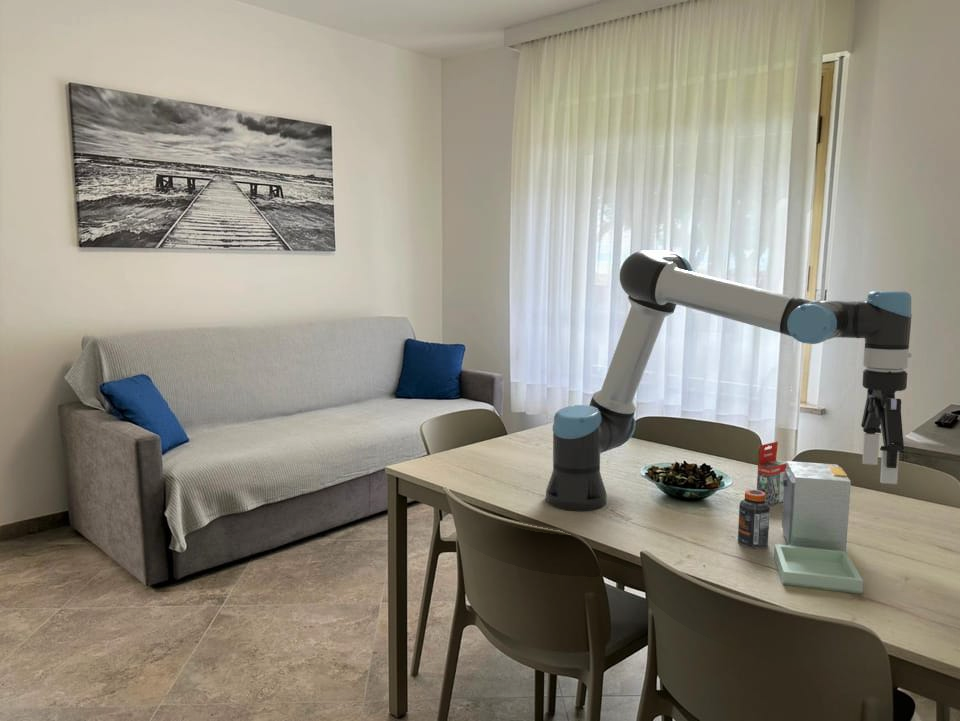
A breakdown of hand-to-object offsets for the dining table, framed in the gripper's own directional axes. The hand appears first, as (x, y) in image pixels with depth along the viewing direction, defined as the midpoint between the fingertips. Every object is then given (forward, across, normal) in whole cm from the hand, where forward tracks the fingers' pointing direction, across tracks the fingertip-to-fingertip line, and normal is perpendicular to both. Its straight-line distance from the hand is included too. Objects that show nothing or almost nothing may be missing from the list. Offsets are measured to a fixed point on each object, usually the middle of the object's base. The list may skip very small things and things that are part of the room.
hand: (878, 473), depth 134 cm
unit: (+16, 0, +11) cm, 20 cm away
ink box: (+16, +26, +16) cm, 35 cm away
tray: (+16, -15, +13) cm, 26 cm away
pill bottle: (+16, -3, +23) cm, 29 cm away
